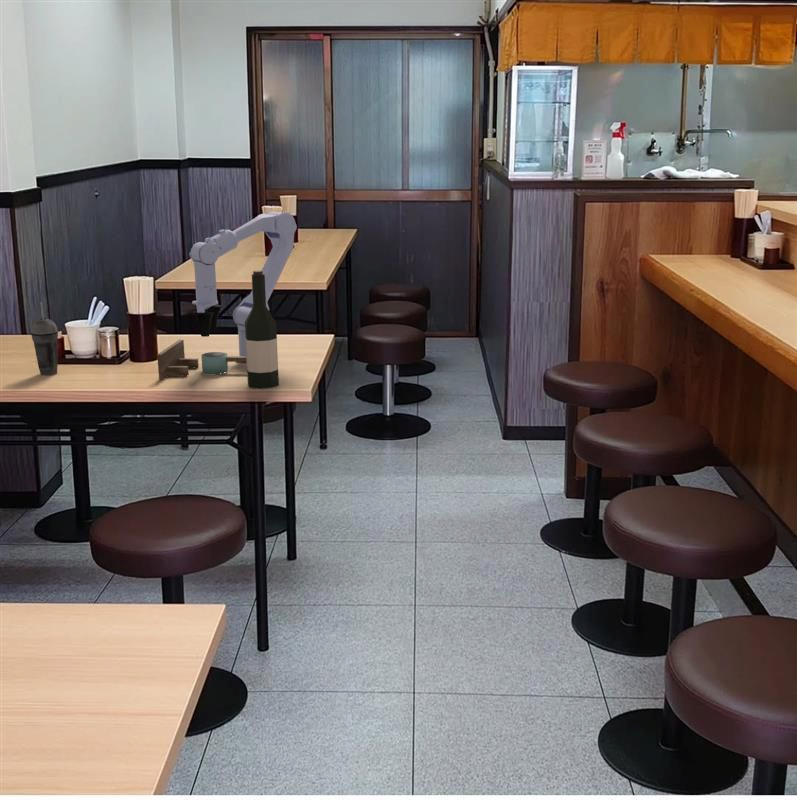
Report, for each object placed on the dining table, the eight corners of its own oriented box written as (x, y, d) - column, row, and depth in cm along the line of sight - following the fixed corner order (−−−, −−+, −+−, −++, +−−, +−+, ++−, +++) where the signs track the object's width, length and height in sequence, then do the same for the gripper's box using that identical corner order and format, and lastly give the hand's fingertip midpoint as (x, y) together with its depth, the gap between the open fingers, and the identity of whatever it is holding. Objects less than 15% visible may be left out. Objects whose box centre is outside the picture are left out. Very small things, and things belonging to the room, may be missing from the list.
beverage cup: (35, 377, 276) (27, 305, 271) (34, 372, 283) (26, 301, 278) (63, 375, 279) (56, 303, 274) (61, 369, 286) (54, 299, 280)
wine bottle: (251, 380, 270) (246, 268, 263) (282, 381, 269) (277, 268, 262) (243, 388, 262) (237, 273, 255) (275, 388, 261) (270, 273, 254)
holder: (203, 363, 291) (201, 339, 289) (182, 380, 272) (180, 354, 270) (181, 363, 292) (179, 339, 290) (159, 379, 272) (157, 354, 270)
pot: (199, 374, 278) (198, 357, 276) (206, 369, 284) (205, 351, 283) (249, 375, 276) (248, 357, 275) (255, 369, 283) (254, 352, 282)
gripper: (198, 282, 289) (201, 328, 292) (184, 289, 275) (187, 338, 278) (222, 282, 288) (225, 328, 292) (210, 289, 274) (213, 338, 278)
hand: (208, 333), depth 285 cm, fingers open, 7 cm apart
